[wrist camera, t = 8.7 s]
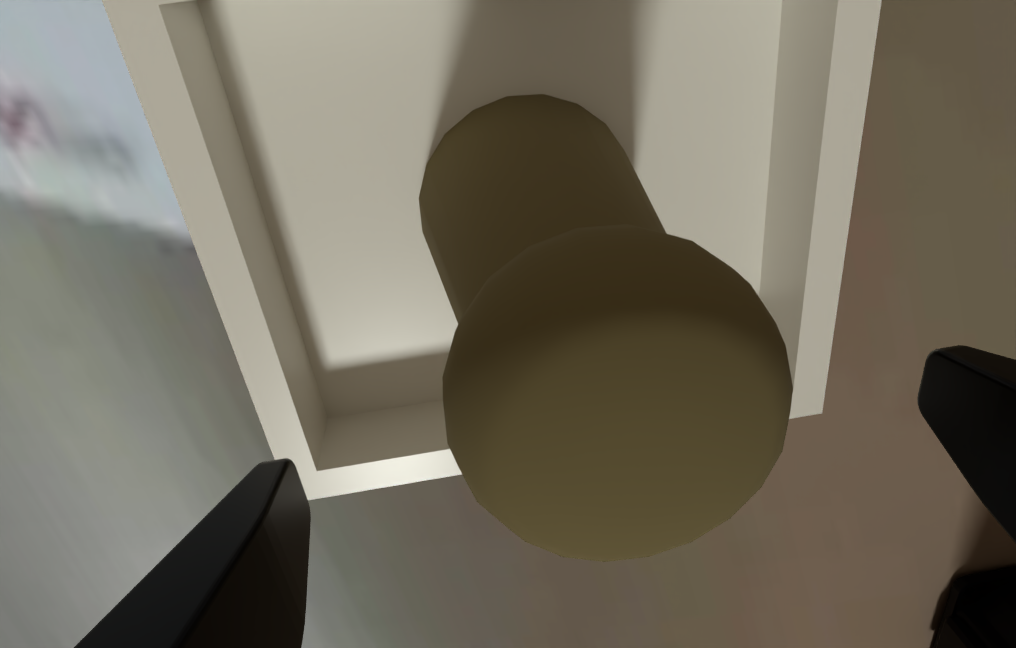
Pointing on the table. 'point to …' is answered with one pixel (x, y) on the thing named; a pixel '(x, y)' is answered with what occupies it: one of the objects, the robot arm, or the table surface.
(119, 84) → the table surface
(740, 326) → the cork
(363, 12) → the tray
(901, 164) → the table surface
